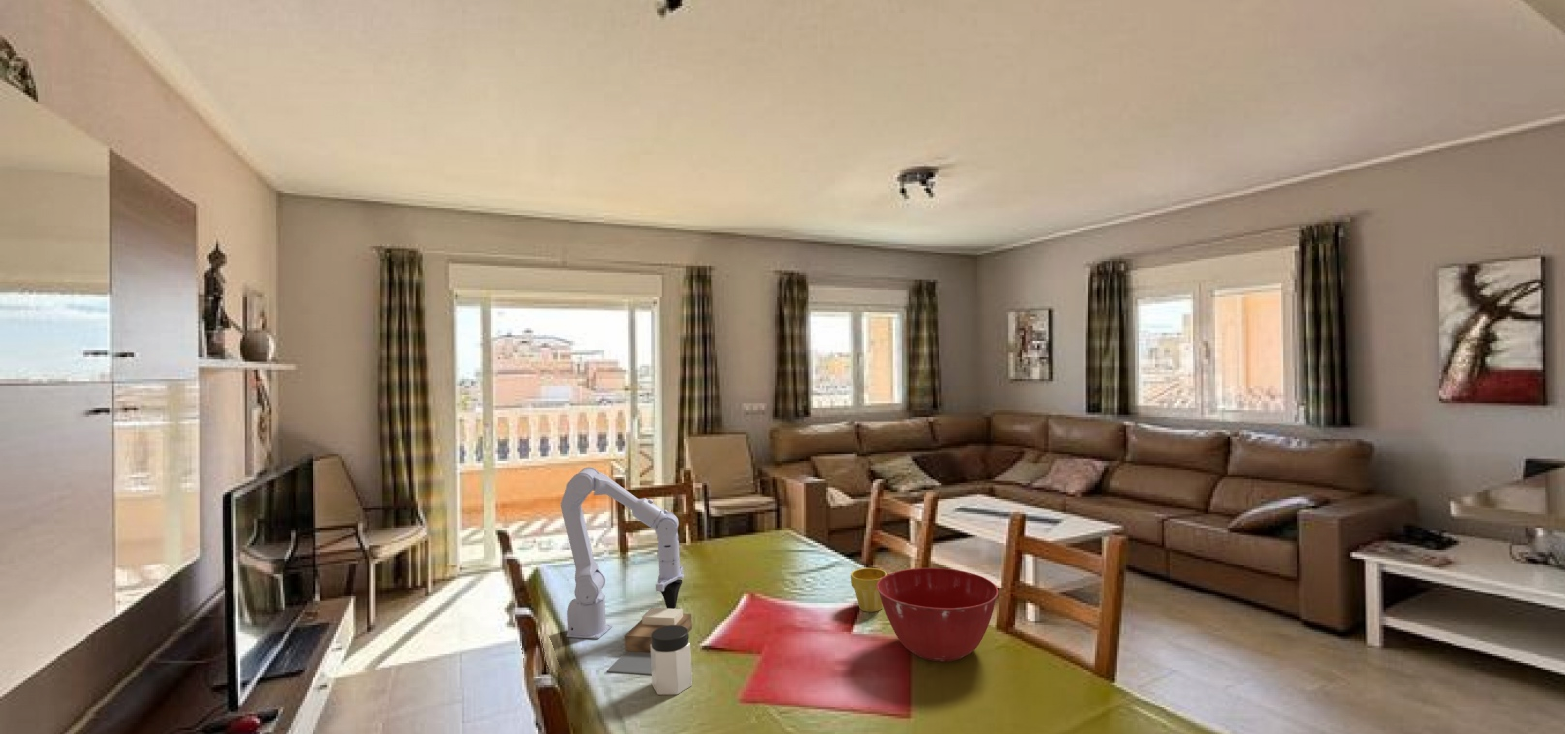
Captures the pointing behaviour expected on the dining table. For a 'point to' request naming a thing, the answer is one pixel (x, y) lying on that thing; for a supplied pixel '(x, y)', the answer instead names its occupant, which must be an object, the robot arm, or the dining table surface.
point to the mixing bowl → (938, 610)
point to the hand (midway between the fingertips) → (671, 608)
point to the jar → (670, 660)
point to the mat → (633, 663)
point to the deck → (648, 634)
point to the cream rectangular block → (662, 616)
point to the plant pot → (867, 588)
